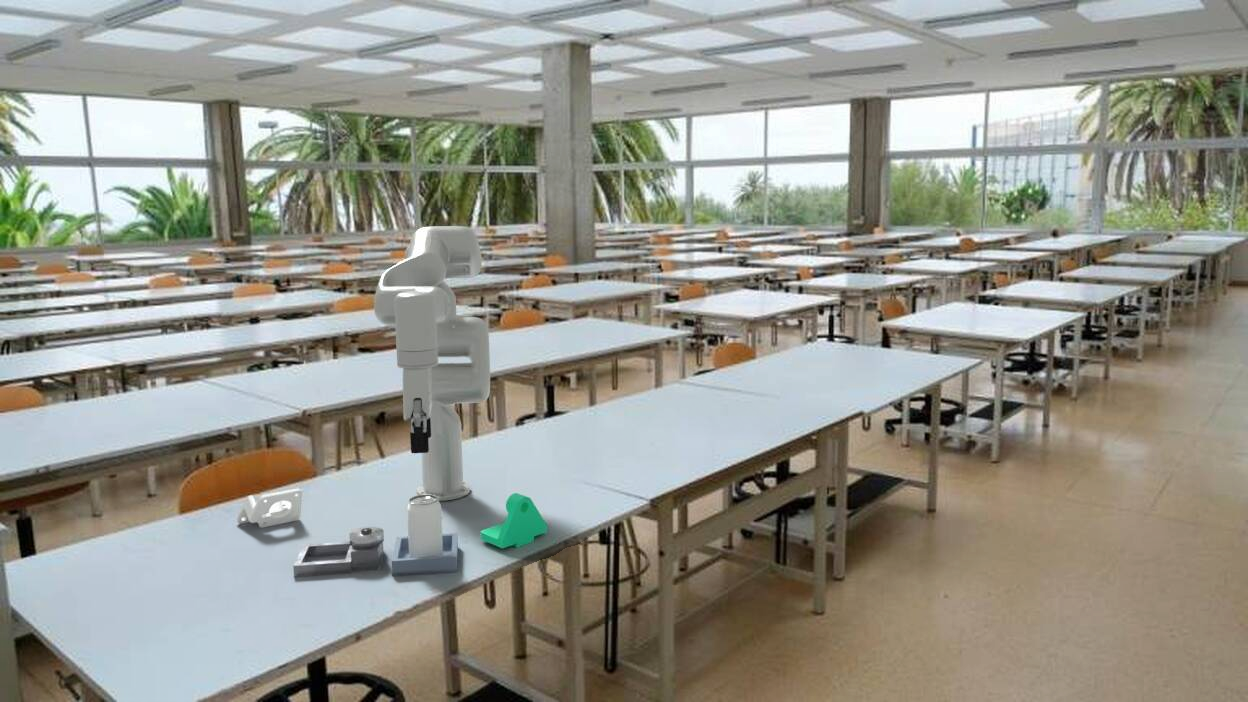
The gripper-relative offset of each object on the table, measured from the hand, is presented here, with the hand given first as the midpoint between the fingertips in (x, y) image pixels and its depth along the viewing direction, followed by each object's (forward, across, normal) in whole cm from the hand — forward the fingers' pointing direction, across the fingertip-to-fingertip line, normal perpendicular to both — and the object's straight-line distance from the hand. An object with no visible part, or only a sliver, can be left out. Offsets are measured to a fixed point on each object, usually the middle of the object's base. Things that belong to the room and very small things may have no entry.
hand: (421, 444), depth 169 cm
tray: (+24, +1, 0) cm, 24 cm away
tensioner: (+24, -1, -16) cm, 29 cm away
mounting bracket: (+24, -26, -35) cm, 50 cm away
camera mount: (+24, -8, +17) cm, 31 cm away
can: (+23, 0, 0) cm, 23 cm away
